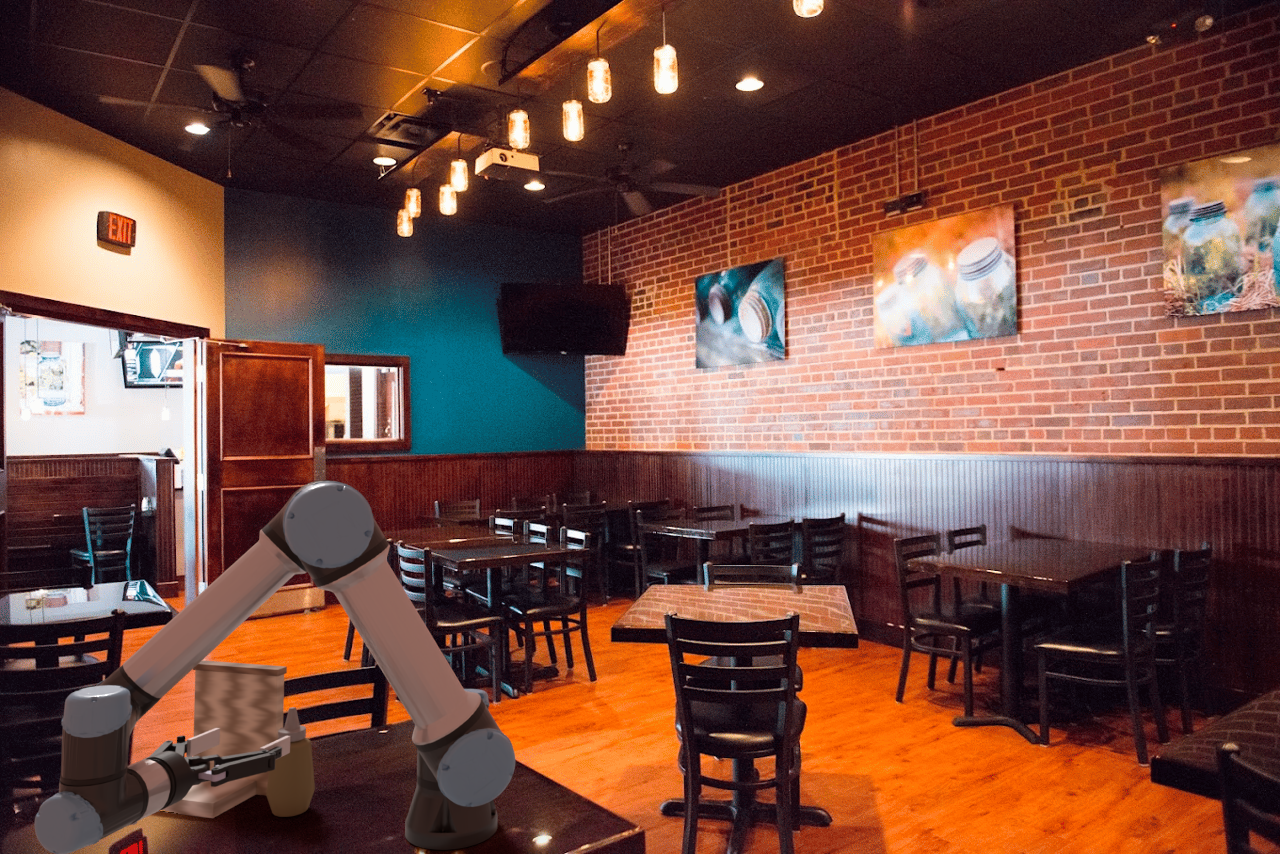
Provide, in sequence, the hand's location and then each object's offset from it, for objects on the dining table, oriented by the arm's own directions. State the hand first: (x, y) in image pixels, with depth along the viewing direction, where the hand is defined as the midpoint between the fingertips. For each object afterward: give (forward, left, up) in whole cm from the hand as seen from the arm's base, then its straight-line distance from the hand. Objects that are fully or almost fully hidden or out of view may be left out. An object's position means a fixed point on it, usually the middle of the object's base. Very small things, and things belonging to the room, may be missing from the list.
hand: (252, 740), depth 143 cm
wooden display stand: (+19, -1, -15) cm, 24 cm away
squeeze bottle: (+5, -9, -16) cm, 19 cm away
